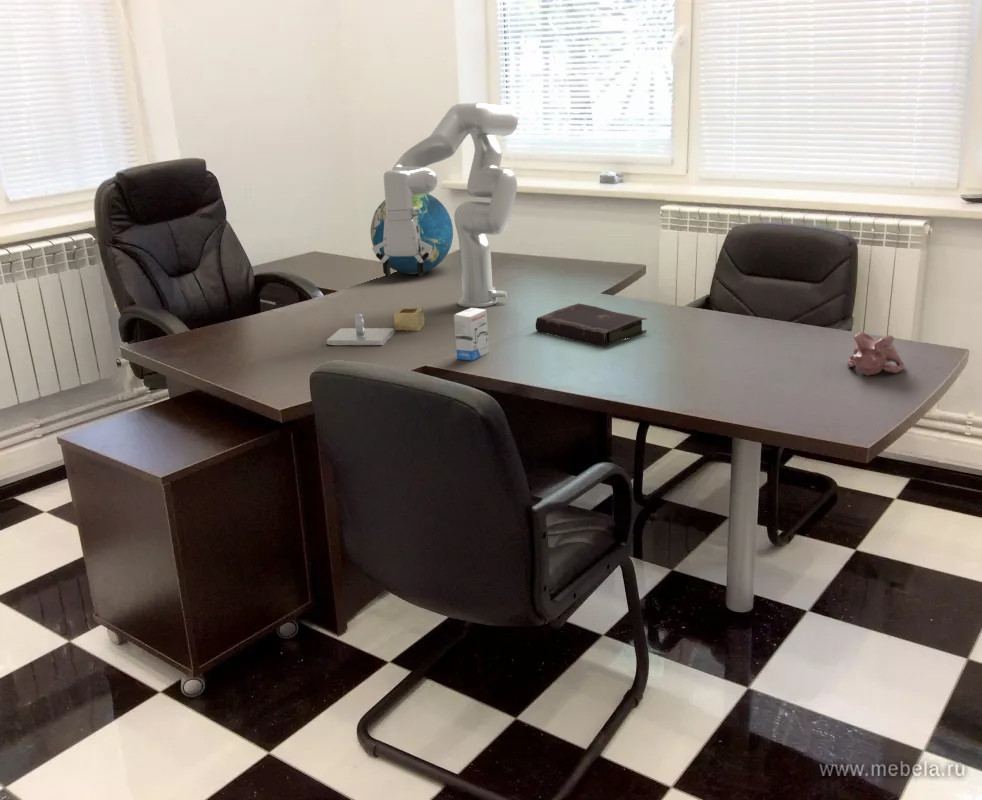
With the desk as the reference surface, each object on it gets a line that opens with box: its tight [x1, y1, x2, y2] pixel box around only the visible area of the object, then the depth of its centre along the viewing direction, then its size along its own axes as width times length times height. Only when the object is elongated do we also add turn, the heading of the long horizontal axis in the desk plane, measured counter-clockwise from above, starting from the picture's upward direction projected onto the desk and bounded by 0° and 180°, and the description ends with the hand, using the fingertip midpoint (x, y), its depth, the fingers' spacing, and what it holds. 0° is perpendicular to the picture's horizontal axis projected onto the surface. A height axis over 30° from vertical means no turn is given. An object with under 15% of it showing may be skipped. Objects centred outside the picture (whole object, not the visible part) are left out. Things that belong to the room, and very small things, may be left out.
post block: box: [326, 313, 395, 346], centre depth 261 cm, size 16×12×8 cm
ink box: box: [453, 307, 490, 361], centre depth 240 cm, size 9×5×12 cm, turn 148°
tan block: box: [393, 307, 425, 332], centre depth 271 cm, size 7×7×5 cm
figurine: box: [846, 331, 905, 377], centre depth 213 cm, size 12×10×15 cm
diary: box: [535, 303, 648, 348], centre depth 257 cm, size 19×25×5 cm
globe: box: [370, 193, 454, 275], centre depth 337 cm, size 30×30×30 cm
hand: (404, 275), depth 266 cm, fingers open, 9 cm apart
